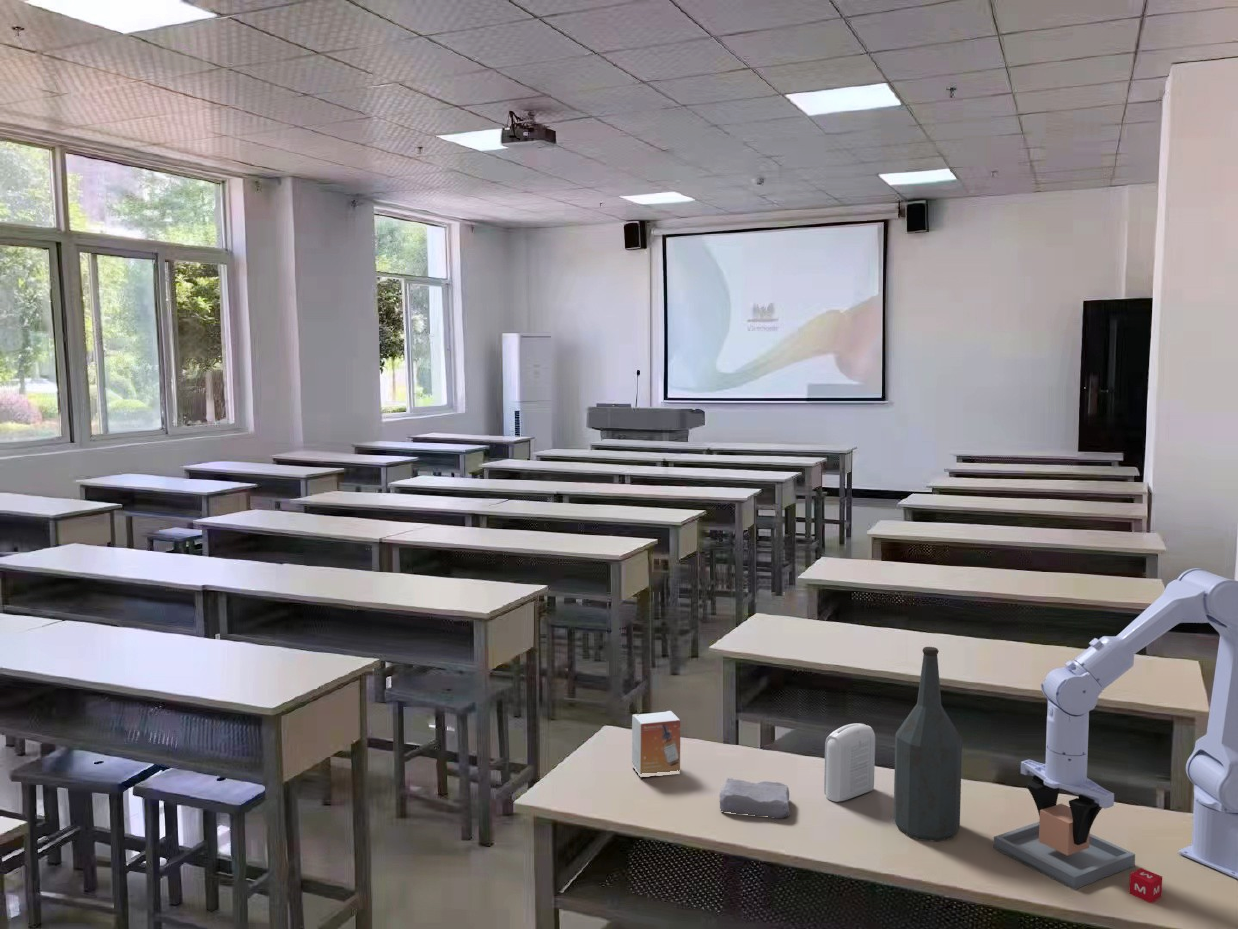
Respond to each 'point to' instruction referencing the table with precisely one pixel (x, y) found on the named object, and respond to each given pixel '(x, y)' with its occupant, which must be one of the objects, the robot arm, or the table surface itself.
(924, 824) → the bottle
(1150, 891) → the red letter cube
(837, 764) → the photo printer
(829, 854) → the table surface
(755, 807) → the stone block
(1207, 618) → the robot arm
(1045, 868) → the tray
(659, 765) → the small box
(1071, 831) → the wooden cube
